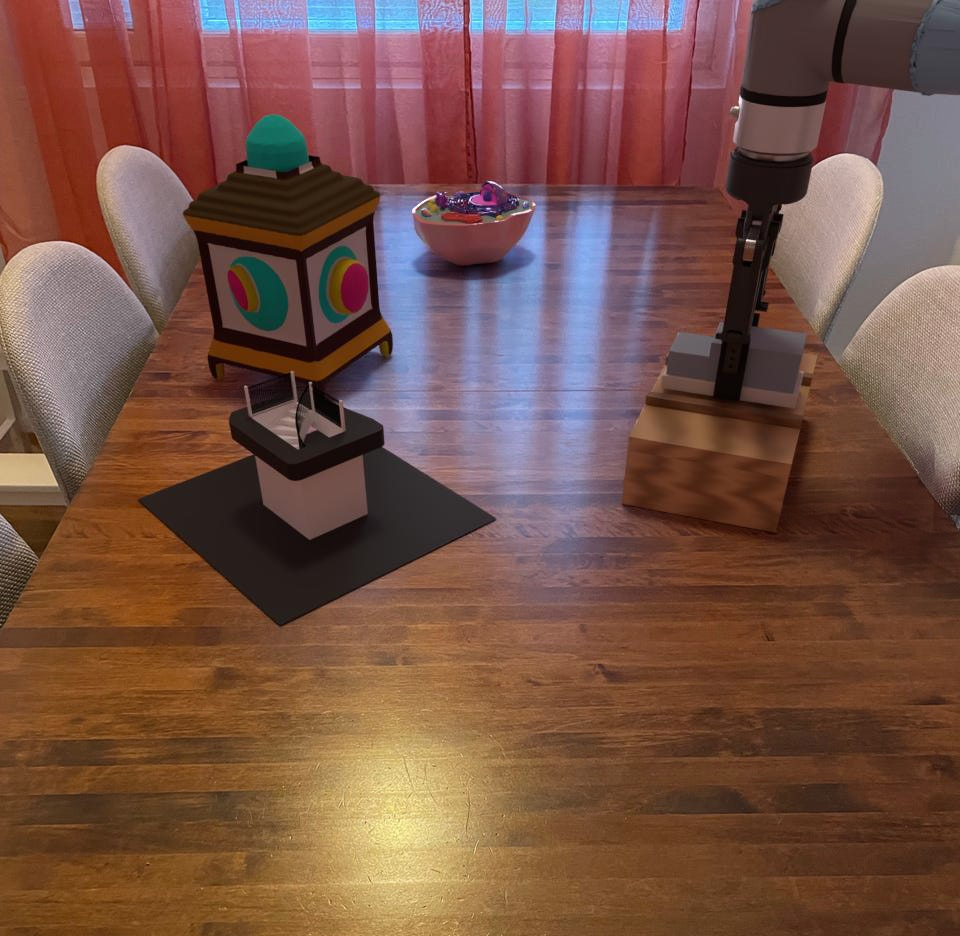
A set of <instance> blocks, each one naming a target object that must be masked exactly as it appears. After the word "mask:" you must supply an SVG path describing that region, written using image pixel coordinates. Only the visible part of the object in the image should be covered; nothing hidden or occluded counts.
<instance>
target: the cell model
mask: <svg viewBox="0 0 960 936" xmlns="http://www.w3.org/2000/svg"><path fill="white" fill-rule="evenodd" d="M536 207H537V205H536V203H535V202H534V201H533V200H531V199H529V198H526V197H524V196H522V195H520V194H516V193H514V192H513V193H512V192H508V191H506V190H505V188H504V187H503V186H501V184H499V183H497V182H495V181H490V180H489V181H488V180H486V181H484V182H483V183H482V184H481V187H480V188H476V189H466V190H450V191H444V192H440V191H437V192H436V194H435V195H433V196H429V197H428V198H426V199H425V200H423V201H421V202H420V203H418V204H417V205H415V206H414V207H413V208H412V209H411V214H412V222H413V228H414V232H415V234H416V236H417V237H418V238H419V240H420V241H421V242H422V243H423V244H424V245H425V246H426V247H427V248H428V250H430V252H432V253H433V255H435V256H437V257H439V258H440V259H442V260H444V261H447V262H449V263H451V264H453V265H456V266H472V265H482V264H483V265H485V264H492V263H496V262H500V261H501V260H502V259H504V258H505V257H506V256H507V255H508V254H509V253H510V252H511V251H512V249H514V248H515V247H516V245H517V244H518V243H519V242H520V241H521V240H522V239H523V237H524V236H525V234H526V232H527V230H528V229H529V226H530V224H531V221H532V219H533V216H534V213H535V211H536Z"/></svg>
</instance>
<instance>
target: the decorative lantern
mask: <svg viewBox="0 0 960 936" xmlns="http://www.w3.org/2000/svg"><path fill="white" fill-rule="evenodd" d="M308 150H309V149H308V144H307V141H306V138H305V136H304V134H303V133H302V132H301V131H300V130H299V129H298V128H297V127H296V126H295V125H294V124H293V122H292V121H290V120H289V119H288V118H286V117H284V116H282V115H281V114H277V113H276V114H268V115H267V114H266V115H264V116H262V118H261V119H259V120H258V121H257V122H256V123H255V124H254V126H253V127H252V128H251V130H250V131H249V133H248V134H247V137H246V140H245V153H246V159H245V160H242V161H240V162H238V163H236V164H235V171H232V172H229V174H228V175H227V177H226V180H224V181H221V182H219V184H217V185H215V186H213V187H210V188H207V189H206V190H202V191H201V192H200V193H199V194H198V195H197V197H196V199H194V200H192V201H190V202H189V203H188V207H187V208H185V209H184V210H183V212H182V216H183V218H184V220H185V222H186V223H187V224H188V226H189V227H190V229H191V230H192V231H193V234H194V235H195V238H196V241H197V246H198V253H199V258H200V262H201V263H200V264H201V268H202V272H203V279H204V284H205V289H206V295H207V300H208V306H209V311H210V317H211V320H212V328H213V336H212V339H211V343H210V345H209V349H208V352H207V364H208V368H209V371H210V374H211V376H212V378H213V379H215V380H216V381H221V380H222V379H223V378H224V377H225V365H228V366H230V367H231V366H232V367H235V368H239V369H243V370H247V371H252V372H255V373H260V374H264V375H268V376H272V377H275V378H276V377H279V376H281V375H284V374H287V373H290V372H291V371H293V372H294V377H295V383H301V384H304V385H305V386H307V385H308V384H309V382H312V385H314V386H316V387H317V388H319V389H321V390H322V391H324V392H326V389H327V385H328V383H329V382H330V381H331V380H332V379H334V378H335V377H336V376H337V375H339V374H340V373H342V372H343V371H345V370H346V369H347V368H349V367H350V366H352V365H353V364H354V363H355V362H358V361H359V360H360V359H361V358H363V357H364V356H365V355H367V354H369V353H370V352H371V351H373V350H374V349H376V348H377V347H378V348H379V352H380V354H381V356H383V357H384V358H388V357H390V356H391V355H392V353H393V349H394V340H393V339H394V338H393V332H392V330H391V328H390V327H389V325H388V323H387V322H386V320H385V318H384V316H383V314H382V312H381V307H380V297H379V283H378V281H379V280H378V269H377V268H378V267H377V253H376V239H375V226H374V225H375V224H374V219H375V214H376V210H377V209H378V205H379V203H380V199H381V193H380V192H379V191H377V190H375V189H374V188H373V186H372V185H371V184H367V183H364V181H363V179H361V178H359V177H356V176H350V175H344V174H342V173H341V172H339V171H336V170H333V169H332V167H331V166H330V165H329V164H324V163H322V162H321V157H320V156H317V155H310V154H309V151H308ZM287 378H288V379H289V378H290V375H289V377H288V375H287V376H286V380H287ZM281 379H283V377H282V378H281ZM283 380H285V376H284V379H283ZM313 390H314V391H315V392H317V391H318V390H317V389H313ZM326 393H327V392H326ZM317 394H318V393H317ZM315 395H316V394H315ZM320 395H322V396H325V394H324V393H323V394H320ZM324 399H325V398H324Z"/></svg>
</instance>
